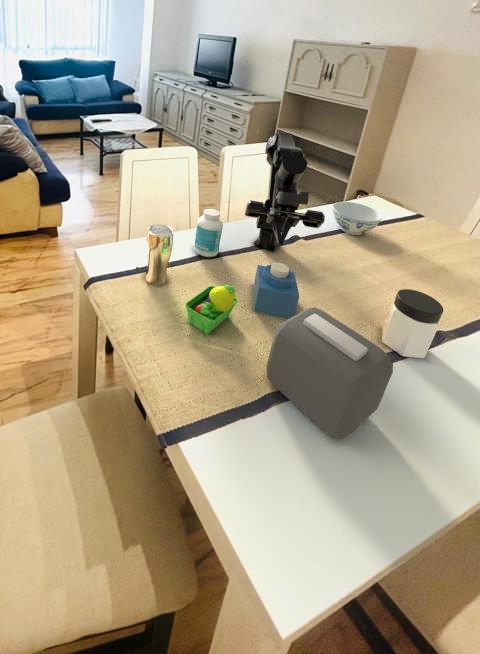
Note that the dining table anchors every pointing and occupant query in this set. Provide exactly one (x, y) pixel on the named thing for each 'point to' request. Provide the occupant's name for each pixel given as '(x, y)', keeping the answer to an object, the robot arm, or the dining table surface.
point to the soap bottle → (275, 293)
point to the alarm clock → (328, 370)
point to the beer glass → (158, 253)
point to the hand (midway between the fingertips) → (280, 245)
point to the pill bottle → (208, 233)
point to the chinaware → (355, 217)
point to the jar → (412, 323)
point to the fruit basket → (211, 307)
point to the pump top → (279, 270)
